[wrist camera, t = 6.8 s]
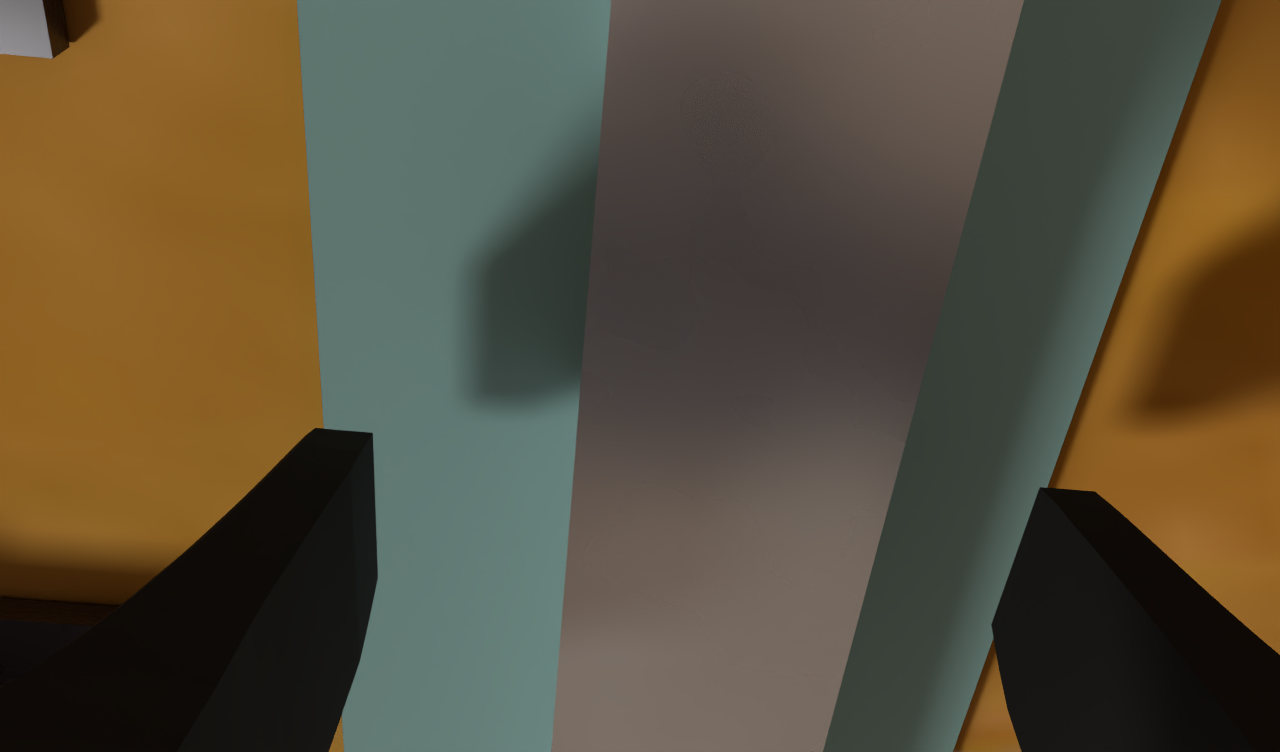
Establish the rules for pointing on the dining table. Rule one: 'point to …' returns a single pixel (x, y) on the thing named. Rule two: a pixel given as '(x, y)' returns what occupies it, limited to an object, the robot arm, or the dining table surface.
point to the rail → (756, 350)
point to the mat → (555, 327)
